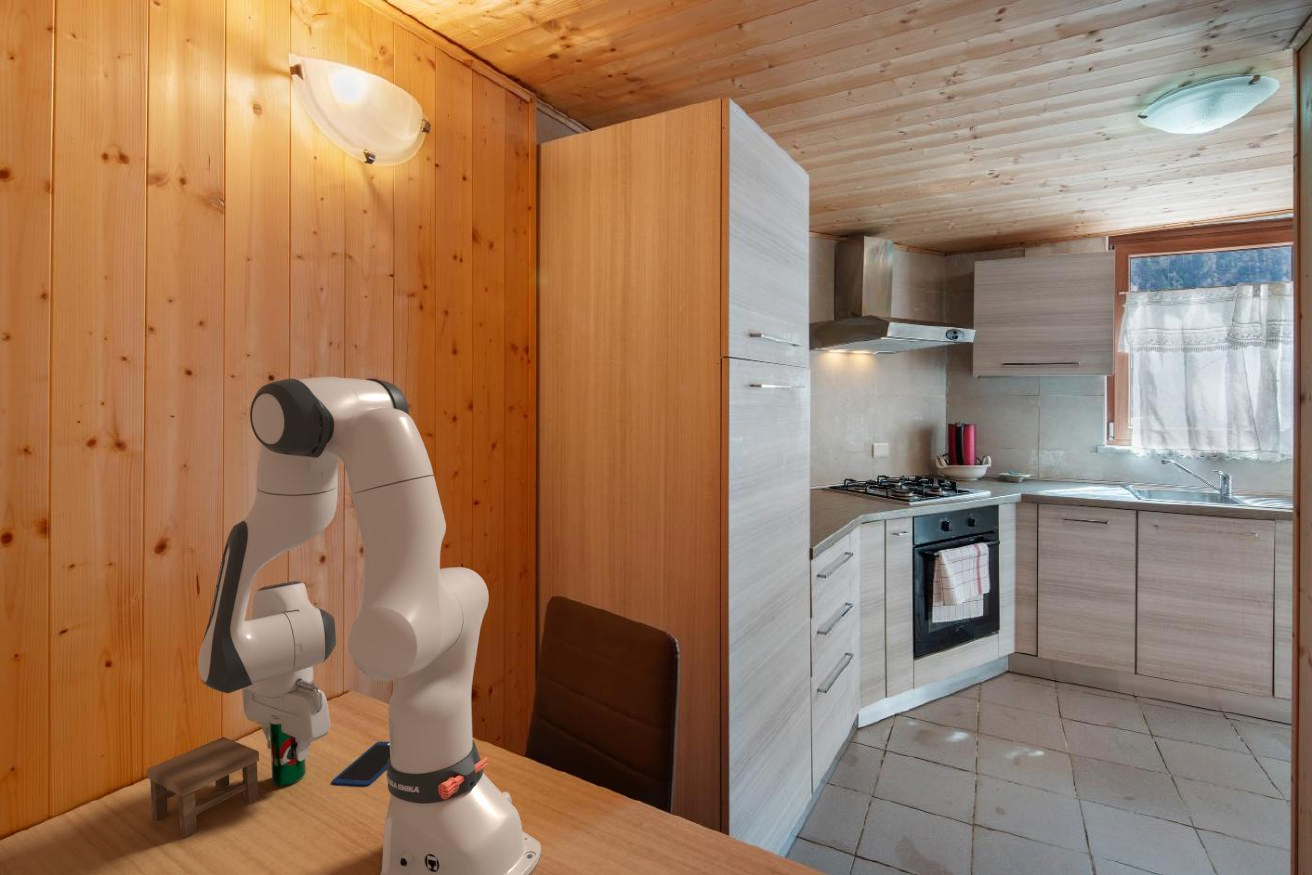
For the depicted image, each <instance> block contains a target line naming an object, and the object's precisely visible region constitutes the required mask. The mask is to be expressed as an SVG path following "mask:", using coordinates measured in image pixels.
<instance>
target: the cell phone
mask: <svg viewBox="0 0 1312 875" xmlns="http://www.w3.org/2000/svg"><path fill="white" fill-rule="evenodd" d="M389 757H390V741H377V742H375V743H374V744H372V746H370V747H369V748H368V749H367V750H365V751H364V752H363V753H362V754H361V755H360V756H359V757H358V758H357V759H355V760H354V761H353V762H352V763H351V764H349V766H347V767H346V768H344V770H342V771H341V772H340V773H339V774H337V776H335V778H333V779H332V780H331V785H333V786H340V787H341V786H342V787H360V788H367V787H369V786H371V785H372V784H373V783H375V782H376V781H377V780H378V779H379V778H380V777H381V776H382V775H383V774H384V773H385V772H387V763H388V759H389Z"/></svg>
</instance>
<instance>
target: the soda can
mask: <svg viewBox="0 0 1312 875" xmlns="http://www.w3.org/2000/svg"><path fill="white" fill-rule="evenodd" d="M271 717H272V718H271V719H270V721H269V729H270V749H269V750H270V764H271V783H272V784H274V785H275V786H276V787H288V786H290V785H293V784H296V783H298V782H299V781H301V780H302V779H303V778H304V776H305V775H306V773H307V769H306V767H307V766H306V759H304V760H302V761H298V760H296V759H294V754H293V750H294V749H296V748H297V745H298V742H296V738H295V737H293V736H290V735H287V734H285V733H283V732H282V730H281V723H280V721H279V717H274V716H273V715H271Z"/></svg>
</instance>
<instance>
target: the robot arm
mask: <svg viewBox="0 0 1312 875" xmlns="http://www.w3.org/2000/svg"><path fill="white" fill-rule="evenodd" d="M408 404H409V403H408V401H407V398H406V396H405V394H404V393H403V391H402V390H401V389H400V388H399V387H398V386H397V385H395V384H393V383H392V382H389V381H385V380H381V379H377V378H366V379H361V378H354V377H353V378H352V377H351V378H349V377H339V376H318V377H317V376H316V377H309V378H308V377H307V378H301V379H296V378H285V379H279V380H277V381H276V380H275V381H272V382H269V383H267V384H264V385H263V386H262V387H260V388H259V389H258V390H257V392H256V393H255V395H254V397H253V399H252V401H251V405H250V409H249V410H250V411H249V419H250V425H251V429H252V432H253V434H254V436H255V438H256V439H257V440H258V441H259V442H260V443H261V444H260V449H259V454H258V461H257V470H256V493H255V498H254V502H253V504H252V505H251V508H250V510H249V512H248V514H247V515H246V516H245V517H244V519H243V520H241V521H240V522H238V523H236V524H234V525H233V526H232V528H231V530H230V532H229V535H228V537H227V538H226V543H225V546H224V549H223V550H224V551H223V553H222V558H221V562H220V567H219V571H218V576H217V579H216V580H217V581H216V585H215V591H214V596H213V600H212V604H211V609H210V615H209V619H208V623H207V626H206V628H205V633H204V636H203V639H202V643H201V645H200V650H199V653H198V659H197V660H198V661H197V667H198V673H199V675H200V679H201V682H202V684H203V685H205V686H206V687H209V688H210V689H212V690H215V691H218V692H221V693H223V694H227V695H228V694H232V693H234V692H237V691H240V690H241V694H242V695H241V699H242V706H243V712H244V715H245V717H246V719H247V720H248V721H251V722H252V723H256V724H258V725H261V728H262V732H263V734H264V737H265V739H266V740H267V742H266V744H267V749H269V750H271V749H270V729H269V721H270V719H271V718H272V717H271V715H273V716H274V717H279V721H280V723H281V730H282V732H283V733H285V734H287V735H290V736H293V737H295V738H296V742H298V745H297V748H296V749H294V750H293V754H294V759H296V760H298V761H302V760H304V759H305V760H306V759H308V758H309V755H310V754H309V749H310V748H309V747H310V745H311V743H313V742H315V741H317V740H320V739H322V738H323V737H325V736H327V735H328V734H329V732H330V730H331V720H330V719H331V717H330V710H329V706H328V700H327V697H326V696H327V695H326V694H325V692H324V691H323V690H320V689H319V687H318V684H317V683H315V682H312V681H313V680H314V666H315V667H316V666H318V665H321V663H325V661H326V660H327V659H328V658H329V657H330V656H331V654H332V653H333V651H334V649H335V647H336V645H337V638H336V637H337V635H336V632H337V631H336V625H335V624H336V623H335V617H334V616H333V615H332V614H330V612H328V611H326V610H324V609H322V608H320V607H317V606H314V605H313V604H312V603H311V601H310V599H309V595H308V590H307V586H306V584H305V583H304V582H301V581H299V580H298V581H297V580H294V581H286V582H281V583H277V584H276V583H275V584H271V585H267V586H263V587H260V588H259V589H257V590H255V592H254V594H253V597H252V598H253V599H252V607H251V618H250V620H245V619H246V615H247V611H248V605H249V600H250V597H251V590H252V587H253V582H254V579H255V577H256V575H257V573H259V571H260V570H261V569H262V568H263V567H264V566H266V564H269V563H270V562H271V561H272V560H274V559H276V558H277V557H279V556H280V555H283V554H285V553H287V552H288V551H291V550H293V549H295V548H297V547H299V546H302V545H304V544H306V543H308V542H310V541H311V540H314V539H315V538H316V537H318V536H319V535H320V534H321V533H322V532H323V531H325V530H326V528H327V527H328V526H329V525H330V524H331V523H332V521H333V519H334V517H335V514H336V513H337V512H336V511H337V505H338V497H339V490H338V489H339V472H338V471H339V469H338V468H339V466H338V464H339V459H340V460H341V461H342V463H343V465H344V467H345V470H346V475H347V481H348V485H349V489H350V494H351V499H352V502H353V506H354V510H355V515H356V520H357V524H358V527H359V533H360V538H361V540H362V541H361V543H362V549H363V578H362V580H363V581H362V593H361V599H360V600H361V601H360V604H359V609H358V611H357V613H356V617H355V619H354V621H353V622H352V624H351V627H350V630H349V632H348V639H347V646H348V647H347V648H348V651H349V654H350V655H349V656H350V658H351V660H352V662H353V664H354V666H355V667H356V668H357V669H358V670H359V671H360V672H361V674H364V676H366V677H368V678H369V679H372V680H375V681H378V682H390V681H391V682H392V681H396V680H397V684H396V686H395V688H394V690H393V693H392V694H391V697H390V700H389V703H388V710H387V711H388V712H387V713H388V734H389V735H388V736H389V740H388V741H389V742H390V757H389V759H388V763H387V770H386V780H387V790H388V792H389V793H390V797H389V798H390V799H389V802H388V809H387V812H386V816H385V821H384V830H383V843H382V844H383V845H382V859H381V871H380V874H379V875H530V874H531V873H532V871H533V870H534V869H535V867H536V866H537V864H538V862H539V859H540V857H541V854H542V847H541V842H540V841H539V840H537V839H535V838H534V837H532V836H530V834H528V833H526V832H525V831H523V826H522V821H521V818H520V813H519V812H518V809H517V808H516V807H515V806H514V805H513V799H512V797H511V794H510V793H509V792H508V791H502V792H501V790H500V789H498V787H497V786H496V785H495V784H494V783H493V782H492V781H491V780H490V779H489V777H488V776H487V775H486V774H485V773H484V768H485V767H487V766H488V765H489V763H488V762H486V761H487V760H488V759H489V758H488V757H487V756H486V757H484V758H482V759H481V757H480V753H479V749H478V748H477V746H476V742H475V741H474V739H473V717H472V716H473V715H472V714H473V713H472V711H473V710H472V689H473V687H472V686H473V678H474V671H475V665H476V658H477V654H478V652H477V651H478V645H479V639H480V632H481V627H482V623H483V620H484V617H485V614H486V611H487V610H488V607H489V599H490V596H489V590H488V587H487V584H486V583H485V580H484V579H483V577H481V575H479V573H477V572H476V571H474V570H473V569H470V568H467V567H462V566H458V567H456V566H455V567H454V566H453V567H452V566H451V567H443V568H441V549H442V545H443V544H442V543H443V540H444V538H445V535H446V531H447V522H446V519H445V514H444V511H443V507H442V502H441V499H440V494H439V492H438V488H437V487H438V486H437V482H436V479H435V475H434V471H433V467H432V463H431V460H430V457H429V455H428V454H429V453H428V451H427V449H426V446H425V442H424V441H423V439H422V436H421V434H420V432H419V430H418V427H417V426H416V423H415V421H414V420H413V418H412V417H411V416H410V415H409V414H410V410H409V405H408ZM485 762H486V763H485Z"/></svg>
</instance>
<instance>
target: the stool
mask: <svg viewBox="0 0 1312 875" xmlns="http://www.w3.org/2000/svg"><path fill="white" fill-rule="evenodd" d="M259 753H260V752H259V750H256V749H253V748H252V747H249V746H246V745H244V744H242V743H239V742H238V741H234V740H232V739H231V738H227V737H224V736H222V737H220V738H218V739H215V740H213V741H210V742H208V743H205V744H203V745H201V746H198V747H196V748H194V749H191V750H188V751H186V752H185V753H181V754H180V755H176V756H175V757H172V758H169V759H167V760H164V761H162V762H160V763H158V764H156V765H153V766H150V767H148V768H147V769H146V773H147V774H146V775H147V776H146V777H147V779H148V780H149V781H150V797H151V816H152V819H153V820H155V821H156V822H157V821H160V820H162V819H163V818H166V817H168V816H169V809H168V808H169V807H168V806H169V805H168V799H170V798H172V797H175V796H177V795H178V797H177V798H178V813H179V815H178V816H179V817H178V818H179V832H180V836H181V837H183V838H184V839H185V838H188V837H189V836H190V837H191V836H192V835H193V834H195V833H197V831H198V830H197V828H198V827H197V815H198V814H200V813H202V812H204V811H206V810H208V809H210V808H211V807H214V806H216V805H218V804H220V803H222V802H224V801H226V800H228V799H230V798H232V797H234V796H236V795H238V794H240V793H242V792H243V803H245V804H247V805H251V804H253V803H254V802H256V801H258V800H259V797H260V796H259V781H258V780H259V779H258V778H259V777H258V762H259V761H260V754H259ZM240 770H242V771H241V772H242V782H239V784H237V785H235V786H232V787H230V775H231V774H233V773H235V772H238V771H240ZM212 783H214V785H215V786H214V787H215V789H217V790H219V791H222V790H223V789H226V788H227V787H230V788H228V789H226V790H224V791H222V792H220V793H218V794H216V795H213V796H212V797H210V798H208V799H205V800H203V801H201V802H200V803H198V804H196V794H195V792H196V791H197V790H199V789H202V788H203V787H206V786H208V785H210V784H212Z"/></svg>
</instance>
